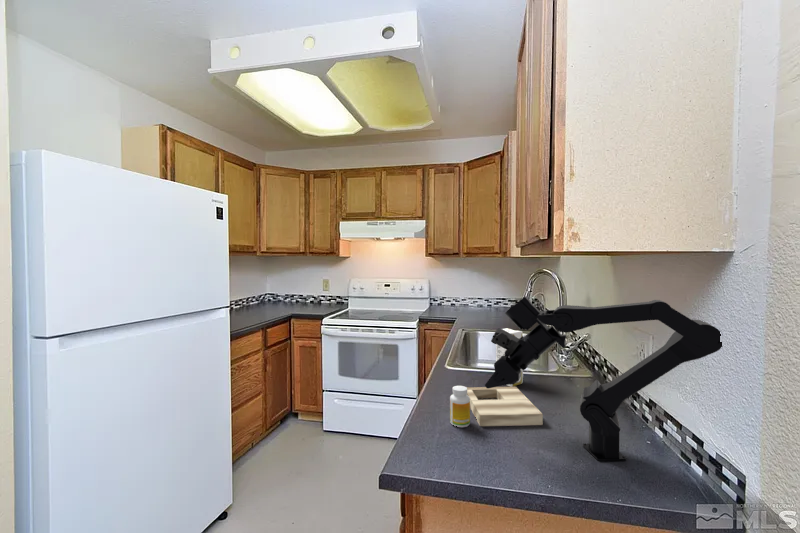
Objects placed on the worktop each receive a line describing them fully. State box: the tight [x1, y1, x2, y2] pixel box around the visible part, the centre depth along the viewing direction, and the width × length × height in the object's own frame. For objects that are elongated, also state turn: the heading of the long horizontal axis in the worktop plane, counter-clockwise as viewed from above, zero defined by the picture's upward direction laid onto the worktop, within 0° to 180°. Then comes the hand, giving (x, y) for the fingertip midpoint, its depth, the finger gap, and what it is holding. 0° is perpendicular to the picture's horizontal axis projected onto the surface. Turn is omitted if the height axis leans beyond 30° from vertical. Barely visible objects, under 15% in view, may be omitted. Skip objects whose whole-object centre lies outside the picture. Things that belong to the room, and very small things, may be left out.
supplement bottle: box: [449, 385, 471, 428], centre depth 95 cm, size 5×5×10 cm
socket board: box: [466, 386, 544, 427], centre depth 103 cm, size 20×17×3 cm
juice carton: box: [495, 327, 524, 387], centre depth 125 cm, size 8×9×19 cm
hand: (490, 381), depth 92 cm, fingers open, 9 cm apart
